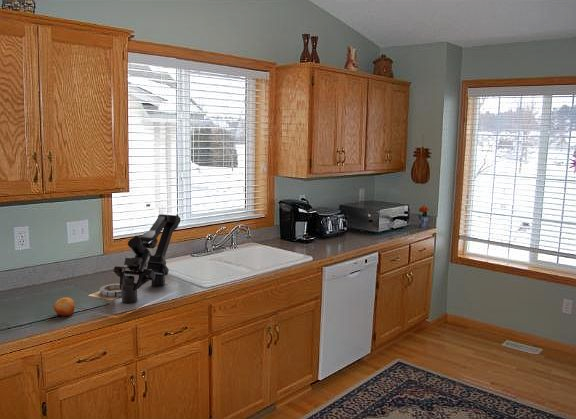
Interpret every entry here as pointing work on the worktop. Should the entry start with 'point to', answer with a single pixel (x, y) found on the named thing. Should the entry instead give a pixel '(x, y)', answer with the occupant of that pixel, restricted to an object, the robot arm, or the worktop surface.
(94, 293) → the oak board
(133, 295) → the supplement bottle
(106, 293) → the steel ring
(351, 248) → the worktop surface
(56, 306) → the fruit
